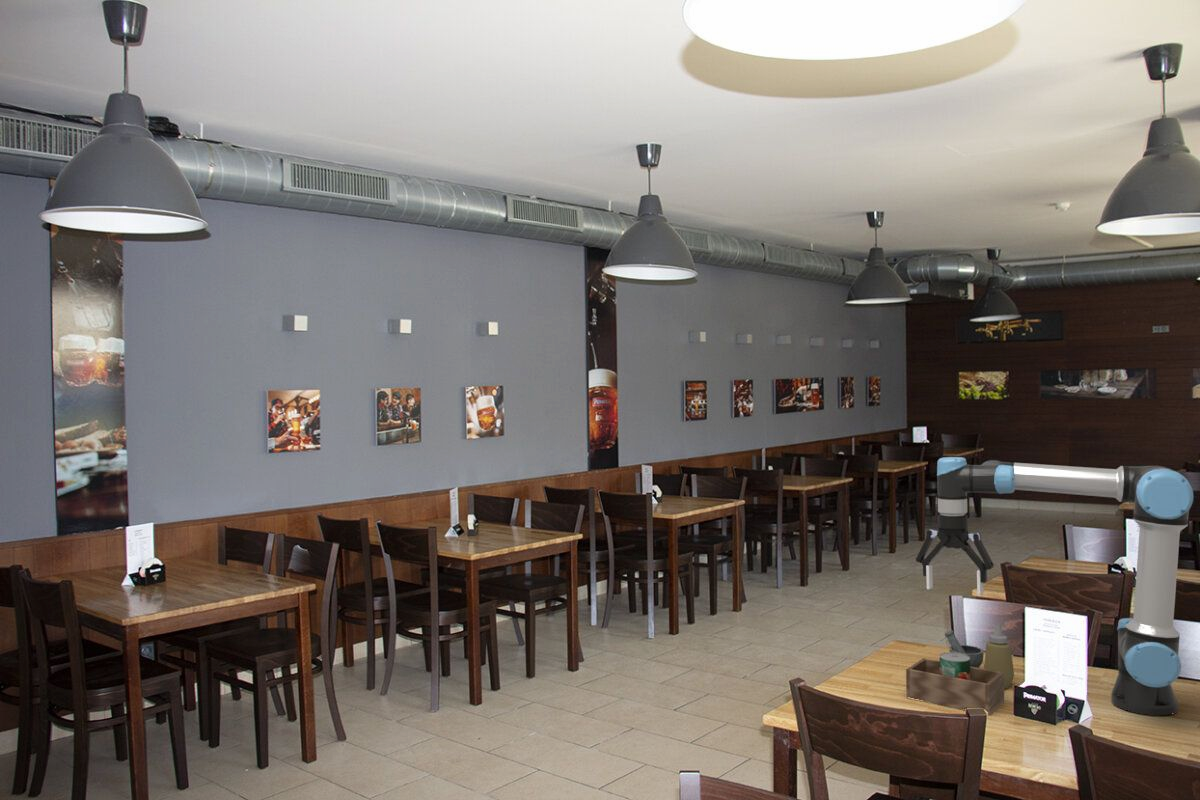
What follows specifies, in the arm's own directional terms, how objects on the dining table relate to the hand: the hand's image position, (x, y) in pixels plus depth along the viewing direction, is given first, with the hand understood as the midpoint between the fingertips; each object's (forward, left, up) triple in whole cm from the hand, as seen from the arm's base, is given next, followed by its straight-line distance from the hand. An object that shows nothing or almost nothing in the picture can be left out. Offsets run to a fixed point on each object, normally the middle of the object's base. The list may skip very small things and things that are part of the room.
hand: (954, 591), depth 246 cm
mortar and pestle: (+6, -26, -30) cm, 40 cm away
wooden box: (0, 0, -30) cm, 30 cm away
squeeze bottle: (-6, -19, -30) cm, 36 cm away
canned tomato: (0, 0, -29) cm, 29 cm away
